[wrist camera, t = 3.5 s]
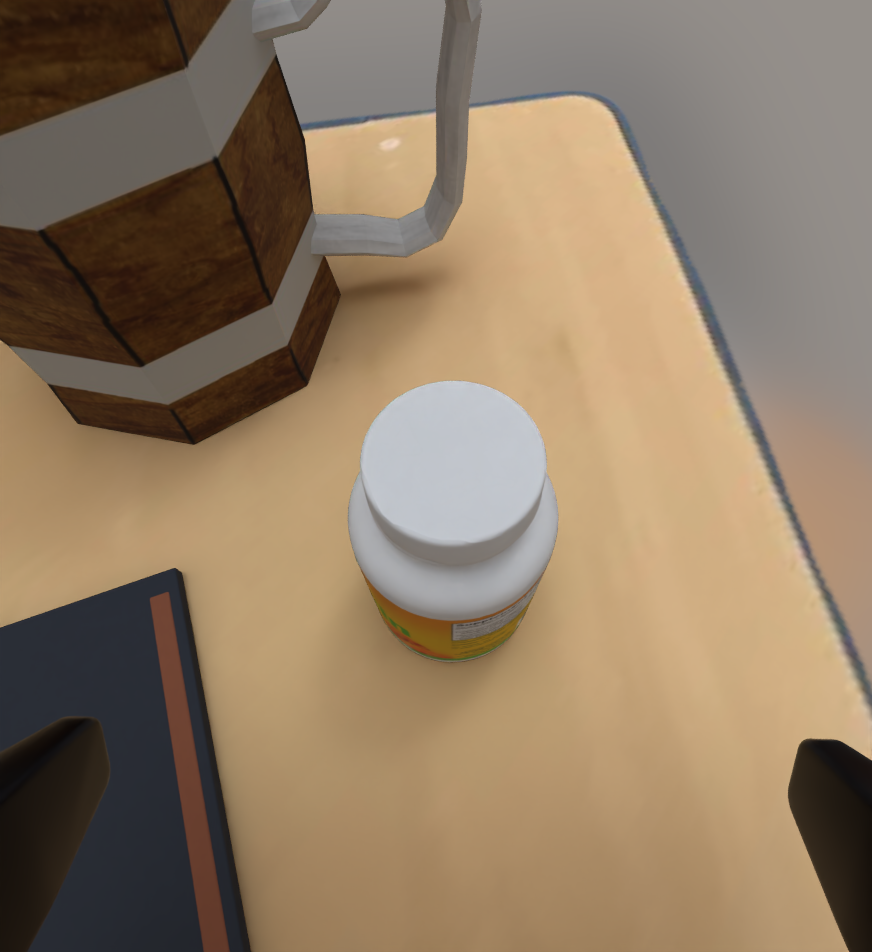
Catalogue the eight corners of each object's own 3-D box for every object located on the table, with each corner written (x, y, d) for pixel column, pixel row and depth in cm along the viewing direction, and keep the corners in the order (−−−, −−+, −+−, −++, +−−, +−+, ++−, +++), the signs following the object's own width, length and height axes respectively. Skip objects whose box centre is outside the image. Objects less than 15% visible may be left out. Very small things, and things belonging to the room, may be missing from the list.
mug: (22, 473, 24) (-538, 78, 10) (56, 236, 30) (-269, -207, 16) (504, 391, 25) (566, -57, 11) (443, 179, 31) (437, -276, 18)
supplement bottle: (353, 553, 22) (289, 407, 13) (484, 494, 23) (503, 321, 14) (415, 693, 20) (385, 628, 11) (556, 621, 21) (633, 509, 12)
